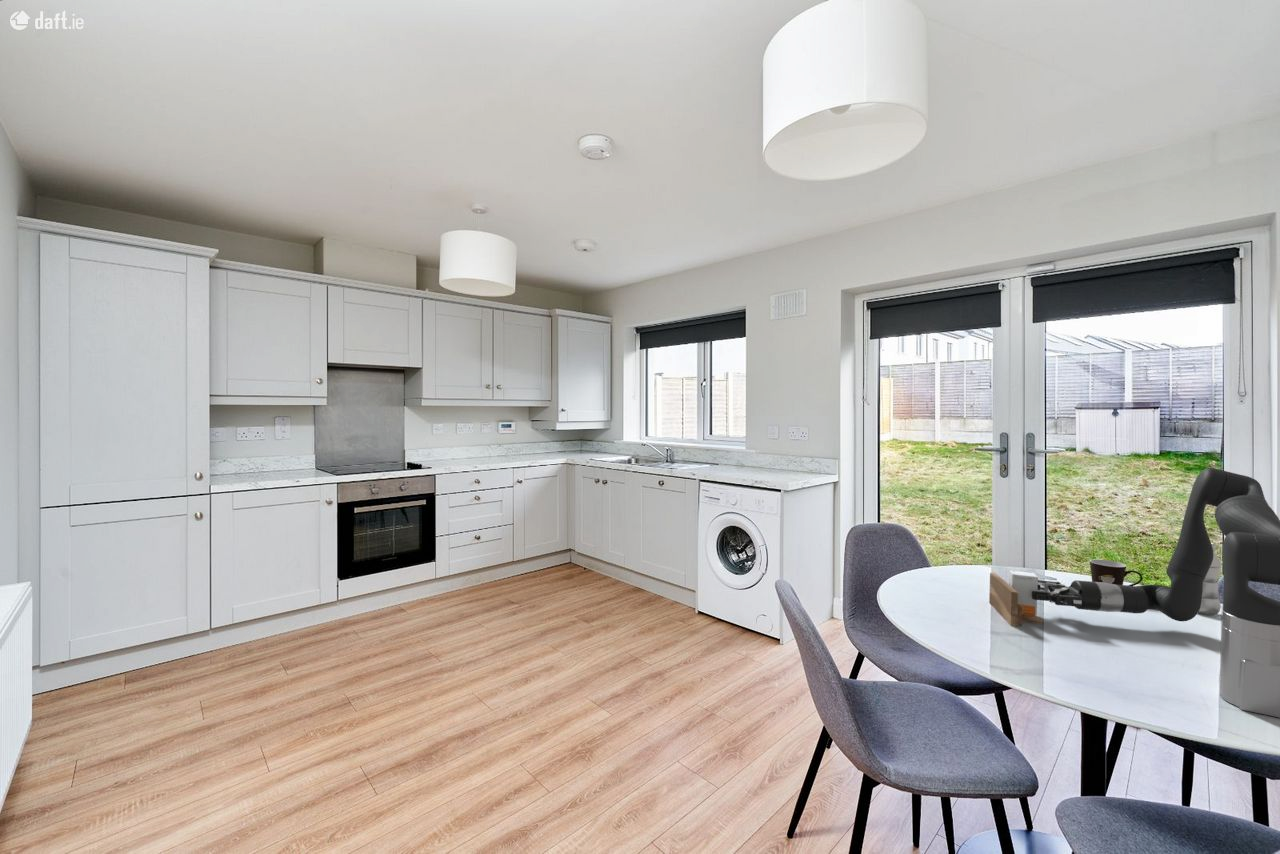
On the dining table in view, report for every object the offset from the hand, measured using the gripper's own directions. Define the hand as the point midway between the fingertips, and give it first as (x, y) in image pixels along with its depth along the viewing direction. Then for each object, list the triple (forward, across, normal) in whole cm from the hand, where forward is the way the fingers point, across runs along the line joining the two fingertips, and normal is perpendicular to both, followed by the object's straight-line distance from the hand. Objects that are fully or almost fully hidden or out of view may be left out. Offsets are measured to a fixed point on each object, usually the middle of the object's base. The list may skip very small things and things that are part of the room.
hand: (1026, 590), depth 150 cm
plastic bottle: (-49, -18, +8) cm, 53 cm away
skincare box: (+1, 0, +8) cm, 8 cm away
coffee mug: (-32, -27, +8) cm, 43 cm away
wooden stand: (+2, 0, +7) cm, 8 cm away
